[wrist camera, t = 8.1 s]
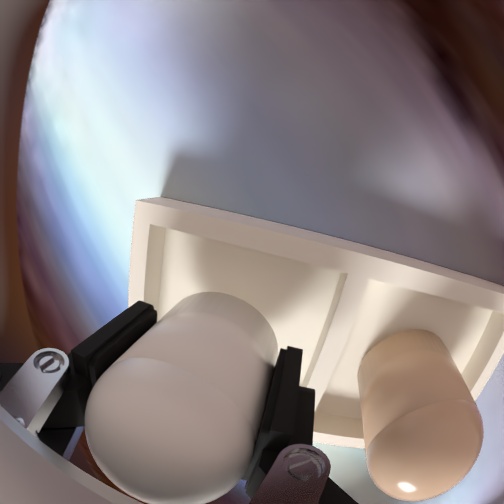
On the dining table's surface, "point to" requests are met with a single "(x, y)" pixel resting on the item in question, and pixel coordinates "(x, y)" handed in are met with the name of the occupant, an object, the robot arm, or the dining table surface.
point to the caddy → (315, 297)
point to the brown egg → (416, 417)
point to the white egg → (185, 402)
